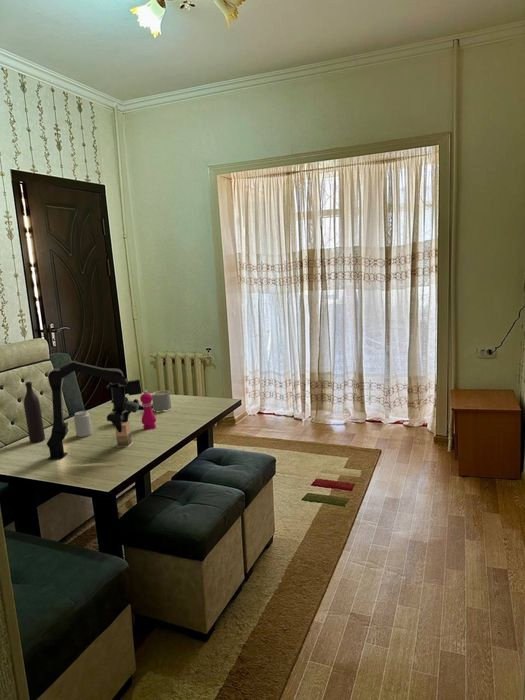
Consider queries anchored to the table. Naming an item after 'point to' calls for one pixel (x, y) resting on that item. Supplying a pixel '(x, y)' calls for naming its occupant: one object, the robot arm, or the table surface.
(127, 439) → the walnut base block
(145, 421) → the pepper mill
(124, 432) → the terracotta block
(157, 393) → the coffee mug
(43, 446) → the table surface
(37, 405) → the wine bottle
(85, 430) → the can
